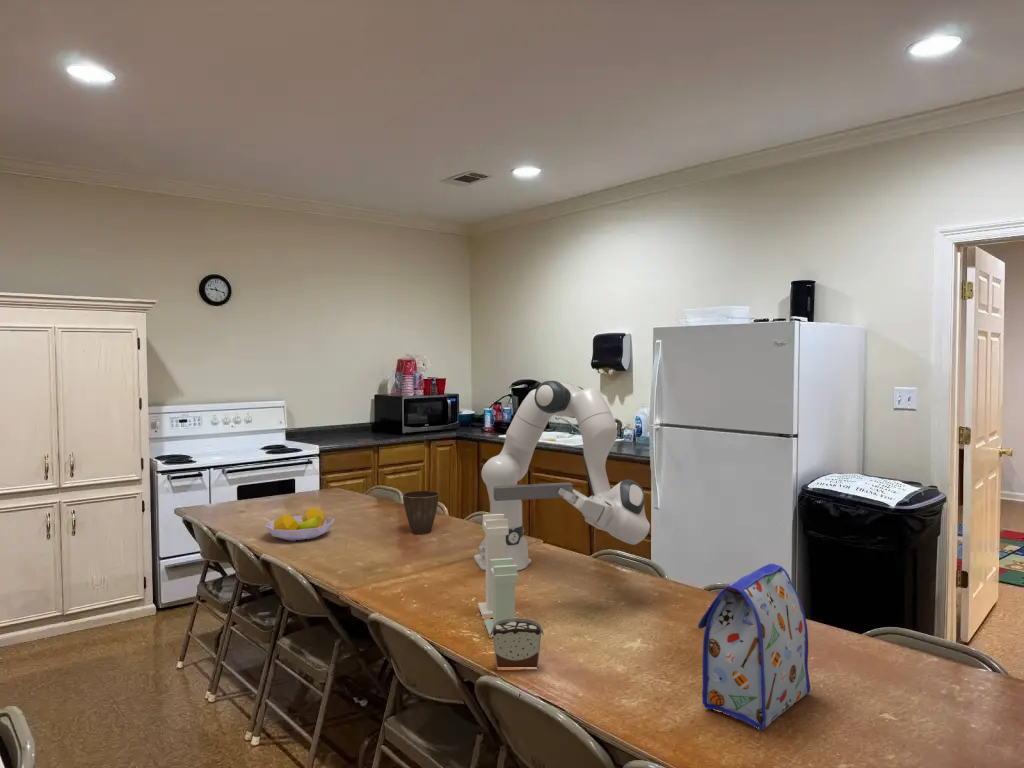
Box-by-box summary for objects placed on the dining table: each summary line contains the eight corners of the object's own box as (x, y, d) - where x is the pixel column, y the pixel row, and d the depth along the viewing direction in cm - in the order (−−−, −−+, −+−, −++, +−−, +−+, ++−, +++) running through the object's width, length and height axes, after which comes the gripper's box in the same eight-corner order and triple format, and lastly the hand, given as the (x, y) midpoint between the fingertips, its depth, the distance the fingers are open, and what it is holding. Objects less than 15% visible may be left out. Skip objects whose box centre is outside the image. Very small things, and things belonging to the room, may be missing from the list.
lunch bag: (739, 669, 155) (739, 553, 154) (814, 693, 144) (815, 568, 143) (690, 706, 139) (690, 577, 138) (770, 737, 127) (771, 595, 126)
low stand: (517, 622, 184) (516, 556, 183) (524, 635, 175) (523, 566, 174) (484, 625, 182) (483, 558, 182) (489, 638, 173) (488, 568, 173)
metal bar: (569, 494, 195) (569, 482, 194) (572, 496, 191) (572, 484, 191) (493, 498, 190) (493, 486, 190) (495, 501, 187) (495, 488, 187)
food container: (542, 658, 162) (541, 616, 162) (544, 669, 156) (543, 626, 155) (490, 659, 162) (489, 617, 161) (490, 671, 155) (489, 627, 155)
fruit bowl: (262, 533, 283) (261, 506, 282) (328, 526, 294) (328, 500, 294) (269, 549, 257) (268, 520, 257) (341, 541, 269) (341, 513, 268)
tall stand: (508, 605, 197) (508, 512, 196) (514, 617, 188) (513, 520, 187) (478, 607, 195) (477, 514, 194) (482, 619, 186) (481, 521, 185)
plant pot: (400, 529, 287) (400, 491, 286) (435, 526, 291) (435, 489, 291) (406, 538, 273) (405, 498, 272) (442, 535, 277) (442, 496, 276)
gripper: (592, 494, 205) (553, 473, 202) (614, 508, 185) (571, 485, 182) (582, 512, 204) (542, 491, 202) (603, 528, 184) (560, 506, 182)
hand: (556, 488), depth 192 cm, fingers closed on metal bar, 3 cm apart
